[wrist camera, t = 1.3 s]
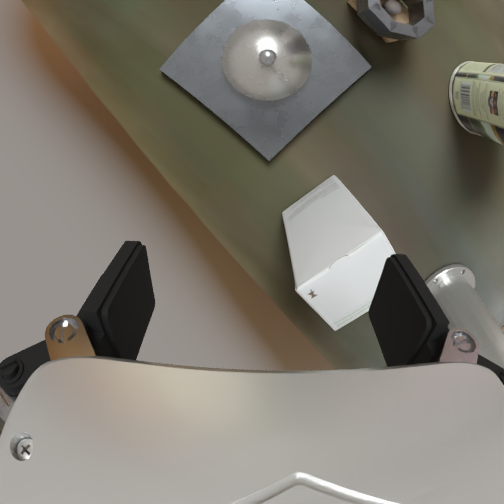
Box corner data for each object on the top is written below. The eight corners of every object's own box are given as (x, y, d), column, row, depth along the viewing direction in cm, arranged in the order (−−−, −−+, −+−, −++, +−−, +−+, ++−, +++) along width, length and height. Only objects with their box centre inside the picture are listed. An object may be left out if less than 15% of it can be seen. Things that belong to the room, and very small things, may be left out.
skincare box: (308, 246, 39) (331, 336, 25) (278, 209, 36) (289, 292, 23) (362, 210, 36) (413, 287, 23) (334, 169, 33) (383, 231, 20)
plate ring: (429, 20, 20) (445, 16, 17) (390, 51, 23) (405, 48, 20) (384, -29, 18) (397, -38, 15) (342, 0, 20) (352, -9, 18)
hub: (368, 67, 27) (384, 65, 23) (268, 159, 33) (270, 169, 29) (262, -28, 21) (263, -43, 17) (161, 69, 27) (148, 68, 24)
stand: (407, 26, 23) (425, 21, 19) (386, 43, 25) (403, 39, 21) (369, -14, 21) (383, -24, 17) (347, 2, 23) (359, -8, 19)
